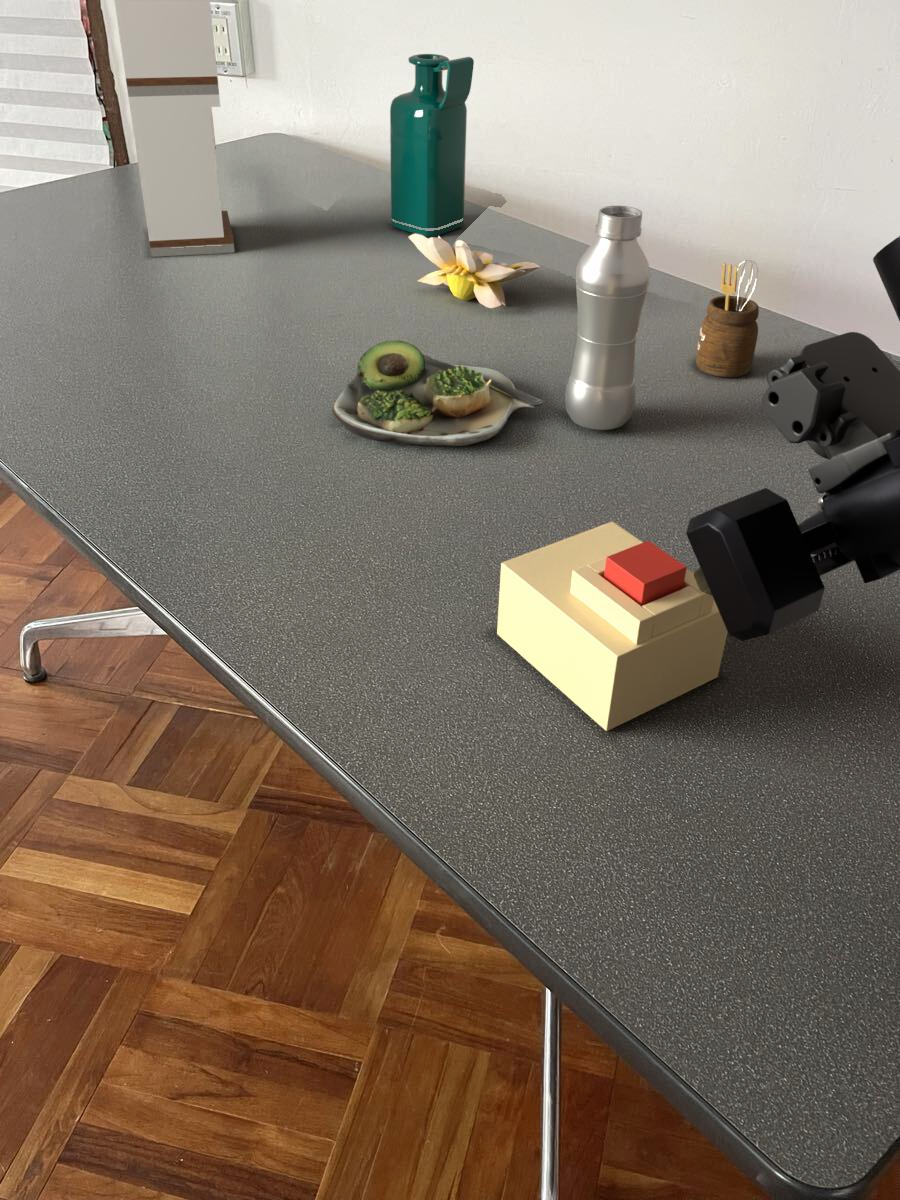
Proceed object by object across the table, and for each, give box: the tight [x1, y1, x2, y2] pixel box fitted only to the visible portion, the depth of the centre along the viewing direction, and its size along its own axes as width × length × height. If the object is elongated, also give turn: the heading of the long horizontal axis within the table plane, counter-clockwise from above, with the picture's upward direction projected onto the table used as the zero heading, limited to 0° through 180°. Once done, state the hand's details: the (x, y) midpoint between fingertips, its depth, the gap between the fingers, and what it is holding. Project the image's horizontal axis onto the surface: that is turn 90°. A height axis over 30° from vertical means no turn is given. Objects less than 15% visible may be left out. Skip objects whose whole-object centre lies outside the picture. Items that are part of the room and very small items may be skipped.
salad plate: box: [331, 339, 544, 447], centre depth 104 cm, size 19×18×5 cm
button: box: [604, 540, 688, 606], centre depth 68 cm, size 4×4×2 cm
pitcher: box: [389, 53, 475, 238], centre depth 145 cm, size 10×8×22 cm
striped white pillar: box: [114, 0, 236, 258], centre depth 134 cm, size 11×11×35 cm
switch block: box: [496, 521, 728, 732], centre depth 73 cm, size 12×10×8 cm
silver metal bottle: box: [564, 205, 651, 431], centre depth 98 cm, size 6×7×20 cm
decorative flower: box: [408, 233, 542, 309], centre depth 127 cm, size 15×11×10 cm
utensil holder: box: [695, 259, 760, 378], centre depth 111 cm, size 6×6×12 cm
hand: (744, 562), depth 60 cm, fingers open, 7 cm apart
